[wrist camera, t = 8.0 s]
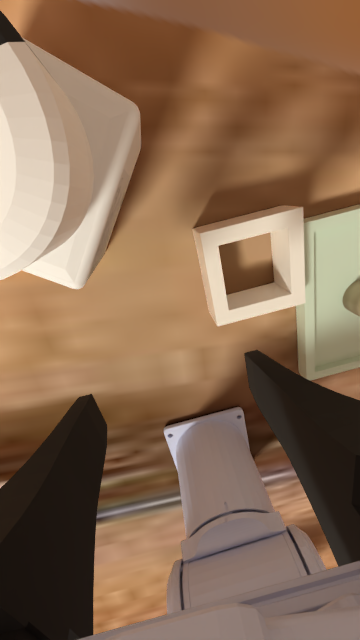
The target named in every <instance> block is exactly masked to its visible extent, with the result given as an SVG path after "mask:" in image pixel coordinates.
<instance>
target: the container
mask: <svg viewBox="0 0 360 640" xmlns="http://www.w3.org/2000/svg"><path fill="white" fill-rule="evenodd" d="M140 150H141V121H140V111H139V109H138V106H137V105H136V104H135V103H134V102H132V101H130V100H129V99H127V98H125V97H123V96H122V95H120V94H118V93H117V92H115V91H113V90H111V89H110V88H108V87H106V86H105V85H103V84H101V83H99V82H98V81H96V80H94V79H93V78H91V77H89V76H87V75H86V74H84V73H82V72H81V71H79V70H77V69H75V68H74V67H72V66H70V65H69V64H67V63H65V62H64V61H62V60H60V59H58V58H57V57H55V56H53V55H52V54H50V53H48V52H46V51H45V50H43V49H41V48H40V47H38V46H36V45H34V44H33V43H31V42H29V41H28V40H26V39H24V38H22V37H21V36H20V34H19V33H18V32H17V31H16V29H15V28H14V27H13V25H12V24H11V23H10V22H9V20H8V19H7V18H6V16H5V15H4V14H3V13H2V12H1V11H0V280H2V279H5V278H7V277H9V276H11V275H13V274H15V273H17V272H19V271H21V270H23V271H25V272H28V273H31V274H34V275H36V276H39V277H42V278H45V279H48V280H50V281H53V282H56V283H59V284H62V285H64V286H67V287H70V288H73V289H80V288H82V287H83V286H84V285H85V283H86V282H87V280H88V279H89V277H90V276H91V274H92V273H93V271H94V269H95V268H96V266H97V265H98V263H99V262H100V260H101V259H102V257H103V256H104V254H105V251H106V248H107V245H108V242H109V239H110V237H111V234H112V231H113V228H114V225H115V222H116V219H117V216H118V213H119V210H120V208H121V205H122V202H123V199H124V196H125V193H126V190H127V187H128V184H129V182H130V179H131V176H132V173H133V170H134V167H135V164H136V161H137V158H138V155H139V153H140Z"/></svg>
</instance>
